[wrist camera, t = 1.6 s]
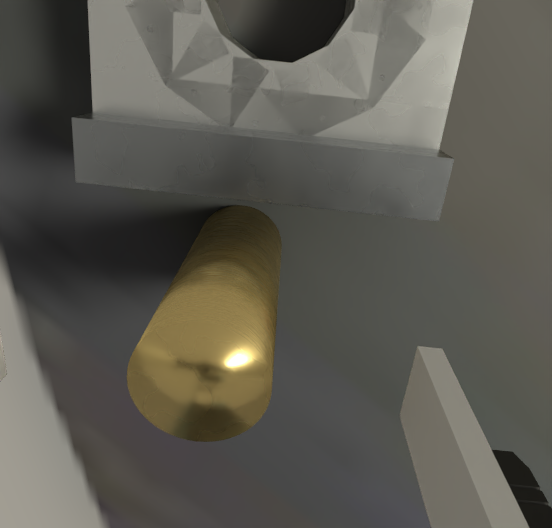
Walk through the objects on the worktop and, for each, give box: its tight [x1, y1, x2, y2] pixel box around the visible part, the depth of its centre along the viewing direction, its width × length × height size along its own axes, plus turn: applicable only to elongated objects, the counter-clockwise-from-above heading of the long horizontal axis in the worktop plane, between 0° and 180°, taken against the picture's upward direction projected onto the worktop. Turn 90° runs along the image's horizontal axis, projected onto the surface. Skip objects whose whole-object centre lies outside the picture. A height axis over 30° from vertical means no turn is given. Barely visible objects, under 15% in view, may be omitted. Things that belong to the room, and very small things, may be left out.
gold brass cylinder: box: [127, 205, 282, 442], centre depth 20 cm, size 4×4×12 cm
